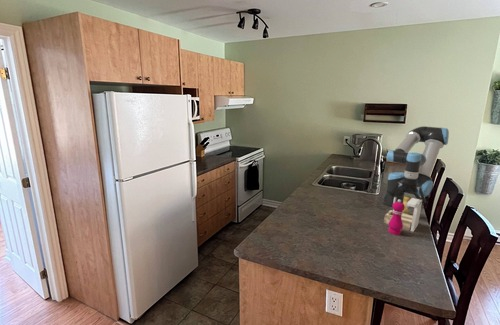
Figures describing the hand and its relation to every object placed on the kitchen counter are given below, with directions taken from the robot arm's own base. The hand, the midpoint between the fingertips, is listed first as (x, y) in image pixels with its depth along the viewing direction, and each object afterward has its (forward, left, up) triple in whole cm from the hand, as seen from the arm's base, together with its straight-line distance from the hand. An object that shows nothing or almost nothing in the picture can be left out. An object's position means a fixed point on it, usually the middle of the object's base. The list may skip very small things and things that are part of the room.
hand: (405, 209), depth 172 cm
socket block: (+12, 0, -6) cm, 13 cm away
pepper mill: (+26, +1, -6) cm, 27 cm away
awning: (+12, +6, -6) cm, 15 cm away
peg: (0, 0, -6) cm, 6 cm away
